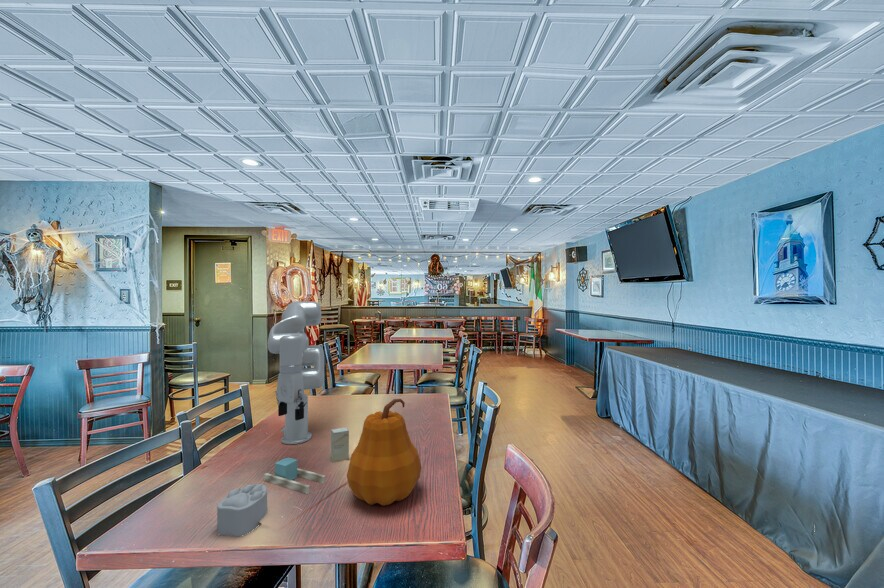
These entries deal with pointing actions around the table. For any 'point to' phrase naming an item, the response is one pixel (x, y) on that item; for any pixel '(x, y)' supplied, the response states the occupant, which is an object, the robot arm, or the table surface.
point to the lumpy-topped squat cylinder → (242, 510)
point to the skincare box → (339, 444)
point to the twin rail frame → (293, 484)
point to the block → (286, 468)
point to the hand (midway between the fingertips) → (291, 417)
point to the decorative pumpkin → (384, 459)
